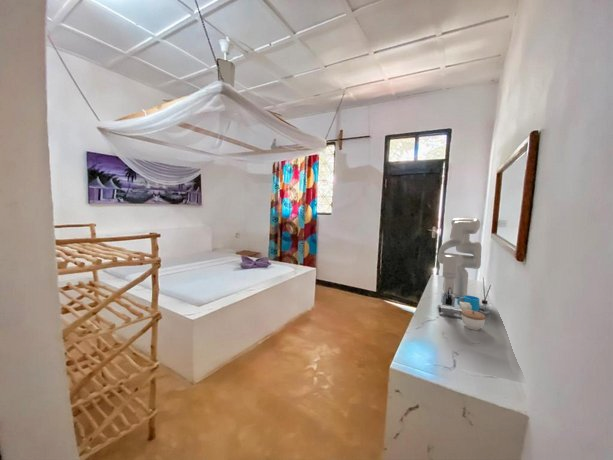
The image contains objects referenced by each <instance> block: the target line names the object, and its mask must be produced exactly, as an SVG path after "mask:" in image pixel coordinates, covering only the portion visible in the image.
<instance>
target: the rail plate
mask: <svg viewBox="0 0 613 460" xmlns="http://www.w3.org/2000/svg"><path fill="white" fill-rule="evenodd" d="M459 304H460V306H459V308H455V307H451V306H444V305H440V304H438V305H437V307H436V308H437V312H438V314H439V316H442V317H448V318H453V319H455V318H456V319H461V320H462V311H463V310H471V308H472V306H471V305H470V303H467V302H464V301H459Z"/></svg>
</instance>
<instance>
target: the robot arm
mask: <svg viewBox="0 0 613 460" xmlns="http://www.w3.org/2000/svg"><path fill="white" fill-rule="evenodd" d="M480 228H481V222H480V219H478V218H467V217H465V218H463V217H462V218H460V217H455V218H452V220H451V231H450V234H449V239H448V240H446V241H445V242H444V243H442V244H441V246H440V247H439V249H438V253H437V261H438V263H439V264H442V277H443V281H442V293H445V294H446V293H447V298H446V305H452V294H454V296H455V298H458V299H459V298H462V297H464V296H470V294H469V293H468V286H469V285H468V284H469V272H468V271H467V270H468V269H472V270H478V269H480V268H481V266H482V265H481V264H482V251H483V250H482V244H481V242H479V241H477V240H476V241H475V240H470V235H474V234H477V232H478V231H479V230H480ZM454 247H455V251H456V252H458V253H459V254H458V253H450V252H449V253H448V252H446V251H447V250H449V249H451V248H454Z"/></svg>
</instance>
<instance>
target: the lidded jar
mask: <svg viewBox="0 0 613 460" xmlns="http://www.w3.org/2000/svg"><path fill="white" fill-rule="evenodd" d="M461 320H462V323H463V324H464V326H465V327H466V328H467V329H470V330H473V331H479V330H480V329H481V328H483V326H484V325H485V322H486V321H485V320H486V315H485V314H484V313H481V312H480V311H479V312H477V311H472V310H463V311H462V319H461Z"/></svg>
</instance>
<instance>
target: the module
mask: <svg viewBox="0 0 613 460" xmlns="http://www.w3.org/2000/svg"><path fill="white" fill-rule="evenodd" d="M446 298H447V293H446V294H445V293H444V292H441V299H440V300H441V306H444V307H451V308H455V306H456V305H455V303H456V302H455V301H456V300H455V299H456V297H455V296H454V294H452V305H446Z"/></svg>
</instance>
